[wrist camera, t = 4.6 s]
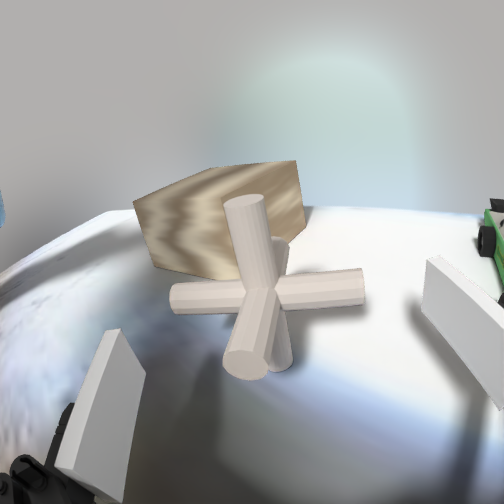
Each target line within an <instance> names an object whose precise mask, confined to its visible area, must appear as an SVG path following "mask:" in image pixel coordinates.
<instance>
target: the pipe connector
mask: <svg viewBox="0 0 504 504" xmlns="http://www.w3.org/2000/svg"><path fill="white" fill-rule="evenodd" d="M223 206H224V210H225V214H226V218H227V222H228V226H229V230H230V235H231V239H232V243H233V247H234V251H235V255H236V259H237V263H238V267H239V271H240V275H241V279H229V280H215V281H200V282H185V283H175V284H174V285H172V287H171V290H170V295H169V302H170V306H171V309H172V311H173V312H174V314H177V315H207V314H238V316H237V319H236V322H235V325H234V327H233V330H232V333H231V336H230V339H229V342H228V344H227V347H226V350H225V353H224V356H223V367H224V368H225V369H226V370H227V372H228V373H229V374H231V375H233V376H235V377H237V378H238V379H244V380H249V381H251V380H257V379H261V378H262V377H264V376H265V375H266V374H267V373H268V370H269V371H272V372H281V371H284V370H286V369H288V368H289V367H290V366H291V365H292V363H293V355H292V349H291V343H290V337H289V331H288V325H287V320H286V314H285V311H295V310H309V309H322V308H334V307H345V306H356V305H364V303H365V286H364V277H363V271H362V269H361V268H357V269H347V270H336V271H326V272H315V273H304V274H292V275H285V274H286V268H287V262H288V255H289V248H290V247H289V245H288V243H287V241H285V240H284V239H282V238H281V237H275V236H273V237H271V232H270V227H269V221H268V216H267V211H266V206H265V201H264V196H263V195H260V194H249V195H243V196H239V197H235V198H233V199H230V200H228V201H226V202H225V203H224V204H223Z"/></svg>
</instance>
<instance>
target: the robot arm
mask: <svg viewBox="0 0 504 504" xmlns="http://www.w3.org/2000/svg"><path fill="white" fill-rule="evenodd" d="M4 221H5V210H4V205H3V200H2V196H1V191H0V228H1V227H2V225H3V224H4ZM421 311H422V312H423V313H424V315H425V316H426V317H427V318H428V319H429V320H430V322H431V323H432V324H433V325H434V326H435V327H436V329H437V330H438V331H439V332H440V333H441V335H442V336H443V337H444V338H445V339H446V341H447V342H448V343H449V344H450V346H451V347H452V348H453V349H454V351H455V352H456V353H457V354H458V356H459V357H460V358H461V359H462V361H463V362H464V363H465V364H466V366H467V367H468V368H469V370H470V371H471V372H472V374H473V375H474V376H475V378H476V379H477V380H478V382H479V383H480V384H481V386H482V387H483V388H484V390H485V391H486V392H487V394H488V395H489V397H490V398H491V399H492V401H493V402H494V404H495V405H496V407H497V408H498V409H499V411H500V410H501V409H503V408H504V303H502V302H499V303H497V302H496V301H494V300H493V299H492V298H491V297H490V296H489V295H488V294H486V293H485V292H484V291H483V290H482V289H481V288H480V287H478V286H477V285H476V284H475V283H474V282H472V281H471V280H470V279H469V278H468V277H466V276H465V275H464V274H463V273H462V272H460V271H459V270H458V269H457V268H455V267H454V266H453V265H452V264H450V263H449V262H448V261H446V260H445V259H444V258H443V257H441V256H440V255H439V256H436V257H432V258H429V259H427V261H426V272H425V282H424V290H423V298H422V305H421ZM145 376H146V372H145V371H144V369H143V367H142V366H141V364H140V362H139V361H138V359H137V357H136V356H135V354H134V352H133V350H132V349H131V347H130V345H129V343H128V341H127V340H126V338H125V336H124V334H123V332H122V330H121V328H119V329H113V330H106V331H105V333H104V335H103V337H102V339H101V342H100V344H99V346H98V348H97V351H96V353H95V355H94V358H93V360H92V362H91V365H90V367H89V369H88V372H87V374H86V377H85V379H84V382H83V384H82V387H81V389H80V392H79V394H78V397H77V400H76V402H75V403H70V404H69V405H68V406H67V408H66V409H65V410H64V411H63V413H62V415H61V418H60V421H59V423H58V424H59V426H57V429H56V432H55V433H56V435H54V437H53V440H52V443H51V446H50V449H49V452H48V455H47V458H46V461H45V464H44V466H43V465H42V464H40V463H39V462H38V461H37V460H35V459H34V458H33V457H31V456H30V455H26V454H23V455H21V456H18V457H17V458H16V459H15V460H14V461H13V463H12V464H11V467H10V471H9V472H10V476H9V475H8V474H6V473H0V504H96V502H95V501H94V496H97V497H99V498H100V499H102V500H103V501H107V502H114V503H121V504H122V502H123V495H124V487H125V480H126V474H127V468H128V461H129V455H130V450H131V444H132V439H133V433H134V428H135V423H136V418H137V413H138V408H139V403H140V399H141V394H142V389H143V385H144V380H145Z"/></svg>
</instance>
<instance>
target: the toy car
mask: <svg viewBox="0 0 504 504" xmlns="http://www.w3.org/2000/svg"><path fill="white" fill-rule="evenodd" d="M490 202H491V207H492V209H485V213H484V220H485V226H480V229H479V234H478V250H479V254H480V256H481V257H493V256H494V258H495V261H496V264H497V267H498V270H499V273H500V276H501V279H502V282H503V286H504V200H503V199H490ZM499 302H502V303H504V293H502V295H501V296H500V298H499V301H498V303H499Z"/></svg>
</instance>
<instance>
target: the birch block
mask: <svg viewBox="0 0 504 504" xmlns="http://www.w3.org/2000/svg"><path fill="white" fill-rule="evenodd" d="M249 194H260V195H263V196H264V201H265V206H266V211H267V216H268V221H269V227H270V232H271V237H273V236H275V237H281V238H282V239H284V240H285V241H287V243H289V242H290V241H291V240H292V239H293V238H295V237H296V236H297V235H298V234H299V233H300V232H301V231H302V230H303V229H304V228H305V227H306V222H305V215H304V209H303V203H302V195H301V189H300V183H299V177H298V171H297V165H296V161H281V162H266V163H255V164H244V165H234V166H224V167H216V168H209V169H207V170H204V171H202V172H199V173H197V174H195V175H192V176H190V177H187V178H185V179H182V180H180V181H178V182H175V183H173V184H171V185H169V186H166V187H164V188H161V189H159V190H157V191H155V192H152V193H150V194H148V195H146V196H144V197H142V198H139V199H137V200H135V201H133V205H134V208H135V211H136V215H137V218H138V221H139V224H140V227H141V230H142V233H143V236H144V239H145V241H146V244H147V247H148V250H149V253H150V256H151V258H152V261H153V264H154V266H155V267H160V268H164V269H168V270H173V271H177V272H182V273H186V274H191V275H195V276H200V277H205V278H209V279H214V280H229V279H241V275H240V271H239V267H238V263H237V259H236V255H235V251H234V247H233V243H232V239H231V235H230V230H229V226H228V222H227V218H226V214H225V210H224V206H223V204H224V203H225V202H226V201H228V200H230V199H233V198H235V197H239V196H243V195H249Z"/></svg>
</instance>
